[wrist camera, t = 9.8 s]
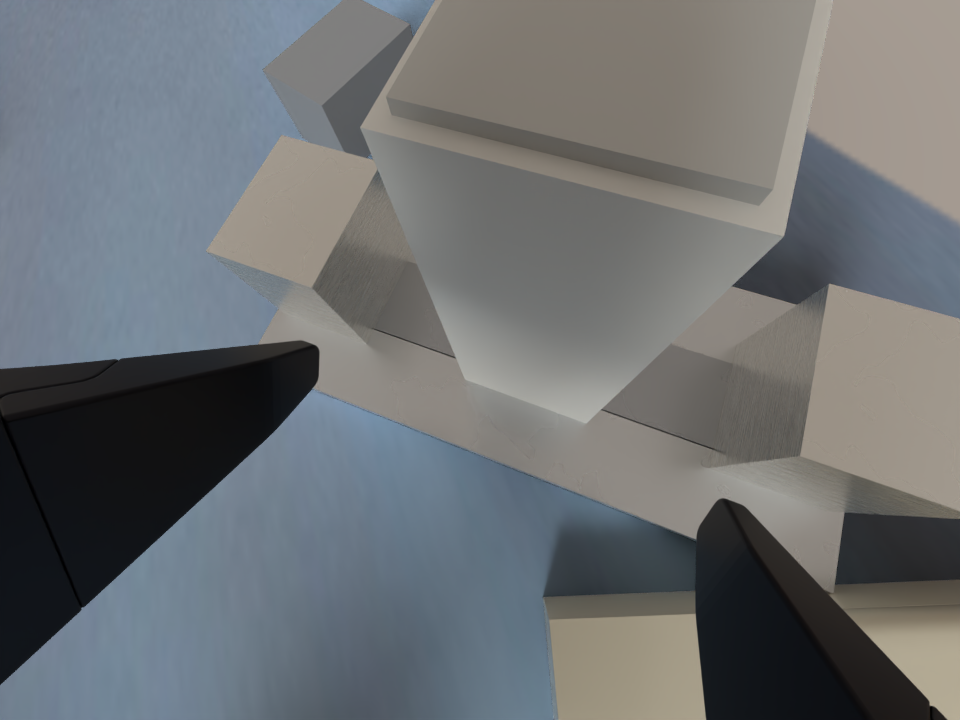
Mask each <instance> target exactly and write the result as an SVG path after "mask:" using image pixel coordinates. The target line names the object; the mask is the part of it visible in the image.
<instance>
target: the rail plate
mask: <svg viewBox="0 0 960 720" xmlns="http://www.w3.org/2000/svg"><path fill="white" fill-rule="evenodd" d="M206 252H207V253H209V254H210V255H211V256H212V257H214V258H215V259H216V260H218V261H219V262H220V263H221V264H223V265H224V266H225V267H226V268H228V269H229V270H230V271H231V272H233V273H234V274H235V275H237V276H238V277H239V278H240V279H242V280H243V281H244V282H245V283H247V284H248V285H249V286H250V287H252V288H253V289H254V290H256V291H257V292H258V293H259V294H261V295H262V296H263V297H264V298H266V299H267V300H268V301H269V302H271V303H272V304H273V305H274V306H276V307H277V308H278V310H277V312H276V314H275V316H274V317H273V319H272V321H271V323H270V324H269V326H268V328H267V330H266V331H265V333H264V335H263V337H262V338H261V340H260V342H259V344H268V343H278V342H287V341H297V340H303V341H306V342H309V343H311V344H314V345H316V346H317V347H318V348H319V351H320V358H319V378H318V381H317V383H316V385H315V386H314V388H313V390H315V391H318V392H320V393H323V394H325V395H328V396H330V397H333V398H335V399H338V400H340V401H343V402H345V403H348V404H350V405H353V406H355V407H358V408H361V409H363V410H366V411H368V412H371V413H373V414H376V415H378V416H381V417H383V418H386V419H388V420H391V421H393V422H396V423H398V424H401V425H403V426H406V427H409V428H411V429H414V430H416V431H419V432H421V433H424V434H426V435H429V436H431V437H434V438H436V439H439V440H441V441H444V442H446V443H449V444H451V445H454V446H456V447H459V448H462V449H464V450H467V451H469V452H472V453H474V454H477V455H479V456H482V457H484V458H487V459H489V460H492V461H494V462H497V463H499V464H502V465H504V466H507V467H510V468H512V469H515V470H517V471H520V472H522V473H525V474H527V475H530V476H532V477H535V478H537V479H540V480H542V481H545V482H547V483H550V484H552V485H555V486H557V487H560V488H563V489H565V490H568V491H570V492H573V493H575V494H578V495H580V496H583V497H585V498H588V499H590V500H593V501H595V502H598V503H600V504H603V505H605V506H608V507H610V508H613V509H616V510H618V511H621V512H623V513H626V514H628V515H631V516H633V517H636V518H638V519H641V520H643V521H646V522H648V523H651V524H653V525H656V526H658V527H661V528H664V529H666V530H669V531H671V532H674V533H676V534H679V535H681V536H684V537H686V538H689V539H691V540H694V541H696V535H697V531H698V528H699V526H700V524H701V522H702V521H703V520H704V518H705V517H706V515H707V514H708V512H709V511H710V509H711V508H712V506H713V505H714V504H715V502H716V501H717V500H718V499H721V498H726V499H728V500H731V501H734V502H736V503H739V504H742V505H744V506H745V507H746V508H747V509H748V510H749V511H750V512H751V513H752V514H753V515H754V516H755V517H756V518H757V519H758V520H759V522H760V523H761V524H762V525H763V526H764V527H765V528H766V529H767V530H768V531H769V532H770V533H771V534H772V535H773V536H774V537H775V538H776V539H777V540H778V542H779V543H780V544H781V545H782V546H783V547H784V548H785V549H786V550H787V551H788V552H789V553H790V554H791V555H792V556H793V557H794V558H795V559H796V561H797V562H798V563H799V564H800V565H801V566H802V567H803V568H804V569H805V570H806V571H807V572H808V573H809V574H810V575H811V576H812V577H813V578H814V580H815V581H816V582H817V583H818V584H819V585H820V586H821V587H822V588H823V589H824V590H825V591H826V592H830V593H833V594H834V586H835V579H836V571H837V564H838V556H839V549H840V542H841V534H842V527H843V519H844V512H845V513H863V514H880V515H898V516H915V517H933V518H950V519H960V319H958V318H954V317H951V316H947V315H943V314H940V313H936V312H932V311H929V310H925V309H921V308H917V307H914V306H910V305H906V304H903V303H899V302H895V301H892V300H888V299H884V298H881V297H877V296H873V295H870V294H866V293H862V292H858V291H855V290H851V289H847V288H844V287H840V286H836V285H833V284H828V285H826V286H825V287H823V288H822V289H820V290H819V291H817V292H816V293H814V294H813V295H811V296H810V297H808V298H807V299H805V300H804V301H802V302H801V303H799V304H798V305H796V304H792V303H789V302H785V301H782V300H778V299H775V298H771V297H768V296H764V295H760V294H757V293H753V292H750V291H746V290H743V289H739V288H736V287H732V286H731V287H730V288H729V289H728V290H727V291H726V292H725V293H724V294H723V295H722V296H721V297H720V298H719V299H717V300H716V301H715V302H714V303H713V304H712V305H711V306H710V307H709V308H708V309H707V310H706V311H705V312H704V313H703V314H702V315H701V316H699V317H698V318H697V319H696V320H695V321H694V322H693V323H692V324H691V325H690V326H689V327H688V328H687V329H686V330H685V331H684V332H683V333H682V334H680V335H679V336H678V337H677V338H676V339H675V340H674V341H673V342H672V343H671V344H670V345H669V346H668V347H667V348H666V349H665V350H664V351H662V352H661V353H660V354H659V355H658V356H657V357H656V358H655V359H654V360H653V361H652V362H651V363H650V364H649V365H648V366H647V367H646V368H645V369H643V370H642V371H641V372H640V373H639V374H638V375H637V376H636V377H635V378H634V379H633V380H632V381H631V382H630V383H629V384H628V385H627V386H625V387H624V388H623V389H622V390H621V391H620V392H619V393H618V394H617V395H616V396H615V397H614V398H613V399H612V400H611V401H610V402H609V403H607V404H606V405H605V406H604V407H603V408H602V409H601V410H600V411H599V412H598V413H597V414H596V415H595V416H594V417H593V418H592V419H591V420H590V421H588V422H587V423H583V422H580V421H578V420H575V419H572V418H569V417H567V416H564V415H561V414H558V413H556V412H553V411H550V410H547V409H545V408H542V407H539V406H536V405H534V404H531V403H528V402H525V401H523V400H520V399H517V398H514V397H512V396H509V395H506V394H503V393H501V392H498V391H495V390H492V389H490V388H487V387H484V386H481V385H479V384H476V383H473V382H470V381H468V380H465V378H464V376H463V374H462V371H461V369H460V366H459V364H458V362H457V359H456V357H455V354H454V352H453V350H452V347H451V345H450V342H449V340H448V337H447V335H446V333H445V330H444V328H443V325H442V323H441V321H440V318H439V316H438V313H437V311H436V309H435V306H434V304H433V301H432V299H431V297H430V294H429V292H428V289H427V287H426V285H425V282H424V280H423V277H422V275H421V273H420V270H419V268H418V265H417V263H416V261H415V258H414V256H413V253H412V251H411V249H410V246H409V244H408V241H407V239H406V237H405V234H404V232H403V229H402V227H401V224H400V222H399V220H398V217H397V215H396V212H395V210H394V208H393V205H392V203H391V200H390V198H389V196H388V193H387V191H386V188H385V186H384V184H383V181H382V179H381V176H380V174H379V172H378V169H377V167H376V164H375V162H374V160H372V159H368V158H364V157H360V156H357V155H353V154H349V153H346V152H342V151H338V150H335V149H331V148H327V147H324V146H320V145H316V144H313V143H309V142H305V141H301V140H298V139H294V138H290V137H287V136H283V135H281V137H280V138H279V140H278V142H277V143H276V145H275V146H274V148H273V149H272V151H271V152H270V154H269V155H268V157H267V158H266V160H265V161H264V163H263V165H262V166H261V168H260V169H259V171H258V172H257V174H256V175H255V177H254V178H253V180H252V181H251V183H250V184H249V186H248V188H247V189H246V191H245V192H244V194H243V195H242V197H241V198H240V200H239V201H238V203H237V204H236V206H235V207H234V209H233V210H232V212H231V214H230V215H229V217H228V218H227V220H226V221H225V223H224V224H223V226H222V227H221V229H220V230H219V232H218V233H217V235H216V237H215V238H214V240H213V241H212V243H211V244H210V246H209V247H208V249H207V250H206Z"/></svg>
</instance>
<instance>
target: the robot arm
mask: <svg viewBox="0 0 960 720" xmlns="http://www.w3.org/2000/svg"><path fill="white" fill-rule="evenodd" d="M319 358H320V351H319V348H318V347H317V346H316V345H314V344H311V343H309V342H306V341H303V340H297V341H287V342H278V343H268V344H258V345H249V346H239V347H229V348H220V349H210V350H200V351H191V352H181V353H171V354H162V355H152V356H142V357H133V358H123V359H120V360H119V361H118V360H117V359H113V360H103V361H93V362H83V363H72V364H61V365H49V366H35V367H22V368H7V369H0V685H1V684H2V683H3V682H4V681H5V680H6V679H7V678H8V677H9V676H11V675H12V674H13V673H14V672H15V671H16V670H17V669H18V668H19V667H20V666H21V665H22V664H24V663H25V662H26V661H27V660H28V659H29V658H30V657H31V656H32V655H33V654H34V653H35V652H37V651H38V650H39V649H40V648H41V647H42V646H43V645H44V644H45V643H46V642H47V641H48V640H50V639H51V638H52V637H53V636H54V635H55V634H56V633H57V632H58V631H59V630H60V629H61V628H63V627H64V626H65V625H66V624H67V623H68V622H69V621H70V620H71V619H72V618H73V617H74V616H76V615H77V614H78V613H79V612H80V611H81V607H85V606H86V605H87V604H88V603H89V602H90V601H91V600H93V599H94V598H95V597H96V596H97V595H98V594H99V593H100V592H101V591H102V590H103V589H104V588H106V587H107V586H108V585H109V584H110V583H111V582H112V581H113V580H114V579H115V578H116V577H117V576H119V575H120V574H121V573H122V572H123V571H124V570H125V569H126V568H127V567H128V566H129V565H130V564H132V563H133V562H134V561H135V560H136V559H137V558H138V557H139V556H140V555H141V554H142V553H143V552H145V551H146V550H147V549H148V548H149V547H150V546H151V545H152V544H153V543H154V542H155V541H157V540H158V539H159V538H160V537H161V536H162V535H163V534H164V533H165V532H166V531H167V530H168V529H170V528H171V527H172V526H173V525H174V524H175V523H176V522H177V521H178V520H179V519H180V518H181V517H183V516H184V515H185V514H186V513H187V512H188V511H189V510H190V509H191V508H192V507H193V506H194V505H196V504H197V503H198V502H199V501H200V500H201V499H202V498H203V497H204V496H205V495H206V494H207V493H209V492H210V491H211V490H212V489H213V488H214V487H215V486H216V485H217V484H218V483H219V482H220V481H222V480H223V479H224V478H225V477H226V476H227V475H228V474H229V473H230V472H231V471H232V470H234V469H235V468H236V467H237V466H238V465H239V464H240V463H241V462H242V461H243V460H244V459H245V458H247V457H248V456H249V455H250V454H251V453H252V452H253V451H254V450H255V449H256V448H257V447H258V446H260V445H261V444H262V443H263V442H264V441H265V440H266V439H267V438H268V437H269V436H270V435H271V434H272V433H273V432H274V431H275V430H276V429H277V428H278V427H279V426H280V425H281V424H282V423H283V422H284V420H285V419H286V418H287V417H288V416H289V415H290V414H291V412H292V411H293V410H294V409H295V408H296V407H297V406H298V405H299V403H300V402H301V401H302V400H303V399H304V398H305V397H306V395H307V394H308V393H309V392H310V391H311V390H312V389H313V388H314V386H315V385H316V383H317V381H318V378H319ZM695 613H696V626H697V636H698V646H699V656H700V666H701V676H702V685H703V695H704V705H705V715H706V720H947V718H946V717H945V716H944V715H943V714H942V713H941V712H940V711H939V710H938V709H937V708H936V707H934V706H930V702H929V700H928V699H927V698H926V696H925V695H924V694H923V693H922V692H921V691H920V690H919V689H918V688H917V687H916V686H915V685H914V684H913V683H912V682H911V681H910V680H909V679H908V677H907V676H906V675H905V674H904V673H903V672H902V671H901V670H900V669H899V668H898V667H897V666H896V665H895V664H894V663H893V662H892V661H891V660H890V659H889V657H888V656H887V655H886V654H885V653H884V652H883V651H882V650H881V649H880V648H879V647H878V646H877V645H876V644H875V643H874V642H873V641H872V640H871V639H870V637H869V636H868V635H867V634H866V633H865V632H864V631H863V630H862V629H861V628H860V627H859V626H858V625H857V624H856V623H855V622H854V621H853V620H852V618H851V617H850V616H849V615H848V614H847V613H846V612H845V611H844V610H843V609H842V608H841V607H840V606H839V605H838V604H837V603H836V602H835V601H834V600H833V598H832V597H831V596H830V595H829V594H828V593H827V592H826V591H825V590H824V589H823V588H822V587H821V586H820V585H819V584H818V583H817V582H816V581H815V580H814V578H813V577H812V576H811V575H810V574H809V573H808V572H807V571H806V570H805V569H804V568H803V567H802V566H801V565H800V564H799V563H798V562H797V561H796V559H795V558H794V557H793V556H792V555H791V554H790V553H789V552H788V551H787V550H786V549H785V548H784V547H783V546H782V545H781V544H780V543H779V542H778V540H777V539H776V538H775V537H774V536H773V535H772V534H771V533H770V532H769V531H768V530H767V529H766V528H765V527H764V526H763V525H762V524H761V523H760V522H759V520H758V519H757V518H756V517H755V516H754V515H753V514H752V513H751V512H750V511H749V510H748V509H747V508H746V507H745V506H744V505H742V504H739V503H736V502H734V501H731V500H728V499H726V498H721V499H718V500H717V501H716V502H715V504H714V505H713V506H712V508H711V509H710V511H709V512H708V514H707V515H706V517H705V518H704V520H703V521H702V522H701V524H700V526H699V528H698V531H697V535H696V583H695Z"/></svg>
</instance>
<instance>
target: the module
mask: <svg viewBox="0 0 960 720" xmlns="http://www.w3.org/2000/svg"><path fill="white" fill-rule="evenodd" d="M833 1H834V0H435V2H434V3H433V5H432V7H431V8H430V10H429V12H428V14H427V15H426V17H425V19H424V20H423V22H422V24H421V25H420V27H419V29H418V30H417V32H416V34H415V36H414V37H413V39H412V41H411V42H410V44H409V46H408V47H407V49H406V51H405V52H404V54H403V56H402V58H401V59H400V61H399V63H398V64H397V66H396V68H395V69H394V71H393V73H392V74H391V76H390V78H389V80H388V81H387V83H386V85H385V86H384V88H383V90H382V91H381V93H380V95H379V96H378V98H377V100H376V102H375V103H374V105H373V107H372V108H371V110H370V112H369V113H368V115H367V117H366V118H365V120H364V122H363V124H362V125H361V127H360V128H361V131H362V133H363V136H364V138H365V140H366V143H367V145H368V148H369V150H370V152H371V155H372V157H373V160H374V162H375V164H376V167H377V169H378V172H379V174H380V176H381V179H382V181H383V184H384V186H385V188H386V191H387V193H388V196H389V198H390V200H391V203H392V205H393V208H394V210H395V212H396V215H397V217H398V220H399V222H400V224H401V227H402V229H403V232H404V234H405V237H406V239H407V241H408V244H409V246H410V249H411V251H412V253H413V256H414V258H415V261H416V263H417V265H418V268H419V270H420V273H421V275H422V277H423V280H424V282H425V285H426V287H427V289H428V292H429V294H430V297H431V299H432V301H433V304H434V306H435V309H436V311H437V313H438V316H439V318H440V321H441V323H442V325H443V328H444V330H445V333H446V335H447V337H448V340H449V342H450V345H451V347H452V350H453V352H454V354H455V357H456V359H457V362H458V364H459V366H460V369H461V371H462V374H463V376H464V378H465V380H468V381H470V382H473V383H476V384H479V385H481V386H484V387H487V388H490V389H492V390H495V391H498V392H501V393H503V394H506V395H509V396H512V397H514V398H517V399H520V400H523V401H525V402H528V403H531V404H534V405H536V406H539V407H542V408H545V409H547V410H550V411H553V412H556V413H558V414H561V415H564V416H567V417H569V418H572V419H575V420H578V421H580V422H583V423H587V422H588V421H590V420H591V419H592V418H593V417H594V416H595V415H596V414H597V413H598V412H599V411H600V410H601V409H602V408H603V407H604V406H605V405H606V404H607V403H609V402H610V401H611V400H612V399H613V398H614V397H615V396H616V395H617V394H618V393H619V392H620V391H621V390H622V389H623V388H624V387H625V386H627V385H628V384H629V383H630V382H631V381H632V380H633V379H634V378H635V377H636V376H637V375H638V374H639V373H640V372H641V371H642V370H643V369H645V368H646V367H647V366H648V365H649V364H650V363H651V362H652V361H653V360H654V359H655V358H656V357H657V356H658V355H659V354H660V353H661V352H662V351H664V350H665V349H666V348H667V347H668V346H669V345H670V344H671V343H672V342H673V341H674V340H675V339H676V338H677V337H678V336H679V335H680V334H682V333H683V332H684V331H685V330H686V329H687V328H688V327H689V326H690V325H691V324H692V323H693V322H694V321H695V320H696V319H697V318H698V317H699V316H701V315H702V314H703V313H704V312H705V311H706V310H707V309H708V308H709V307H710V306H711V305H712V304H713V303H714V302H715V301H716V300H717V299H719V298H720V297H721V296H722V295H723V294H724V293H725V292H726V291H727V290H728V289H729V288H730V287H731V286H732V285H733V284H734V283H735V282H737V281H738V280H739V279H740V278H741V277H742V276H743V275H744V274H745V273H746V272H747V271H748V270H749V269H750V268H751V267H752V266H753V265H754V264H756V263H757V262H758V261H759V260H760V259H761V258H762V257H763V256H764V255H765V254H766V253H767V252H768V251H769V250H770V249H771V248H772V247H774V246H775V245H776V244H777V243H778V242H779V241H780V240H781V239H782V238H783V237H784V234H785V230H786V225H787V220H788V215H789V211H790V206H791V201H792V196H793V192H794V187H795V182H796V177H797V173H798V168H799V163H800V158H801V154H802V149H803V144H804V139H805V135H806V130H807V125H808V120H809V116H810V111H811V106H812V101H813V97H814V92H815V87H816V82H817V78H818V73H819V68H820V63H821V59H822V54H823V49H824V44H825V40H826V35H827V30H828V25H829V21H830V15H831V11H832V6H833Z"/></svg>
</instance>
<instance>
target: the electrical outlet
mask: <svg viewBox="0 0 960 720" xmlns="http://www.w3.org/2000/svg"><path fill="white" fill-rule="evenodd" d="M827 593H828V594H829V595H830V596H831V597H832V598H833V600H834V601H835V602H836V603H837V604H838V605H839V606H840V607H841V608H842V609H843V610H844V611H845V612H846V613H847V614H848V615H849V616H850V617H851V618H852V620H853V621H854V622H855V623H856V624H857V625H858V626H859V627H860V628H861V629H862V630H863V631H864V632H865V633H866V634H867V635H868V636H869V637H870V639H871V640H872V641H873V642H874V643H875V644H876V645H877V646H878V647H879V648H880V649H881V650H882V651H883V652H884V653H885V654H886V655H887V656H888V657H889V659H890V660H891V661H892V662H893V663H894V664H895V665H896V666H897V667H898V668H899V669H900V670H901V671H902V672H903V673H904V674H905V675H906V676H907V677H908V679H909V680H910V681H911V682H912V683H913V684H914V685H915V686H916V687H917V688H918V689H919V690H920V691H921V692H922V693H923V694H924V695H925V696H926V698H927V699H928V700H929V702H930V706H934V707H936V708H937V709H938V710H939V711H940V712H941V713H942V714H943V715H944V716H945V717H946V718H947V720H960V580H936V581H912V582H888V583H864V584H841V585H835V586H834V594H833V593H830V592H827ZM543 605H544V616H545V628H546V639H547V650H548V661H549V672H550V684H551V695H552V706H553V717H554V720H706V715H705V705H704V695H703V685H702V676H701V666H700V656H699V646H698V636H697V626H696V613H695V591H674V592H650V593H626V594H602V595H578V596H555V597H543Z"/></svg>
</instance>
